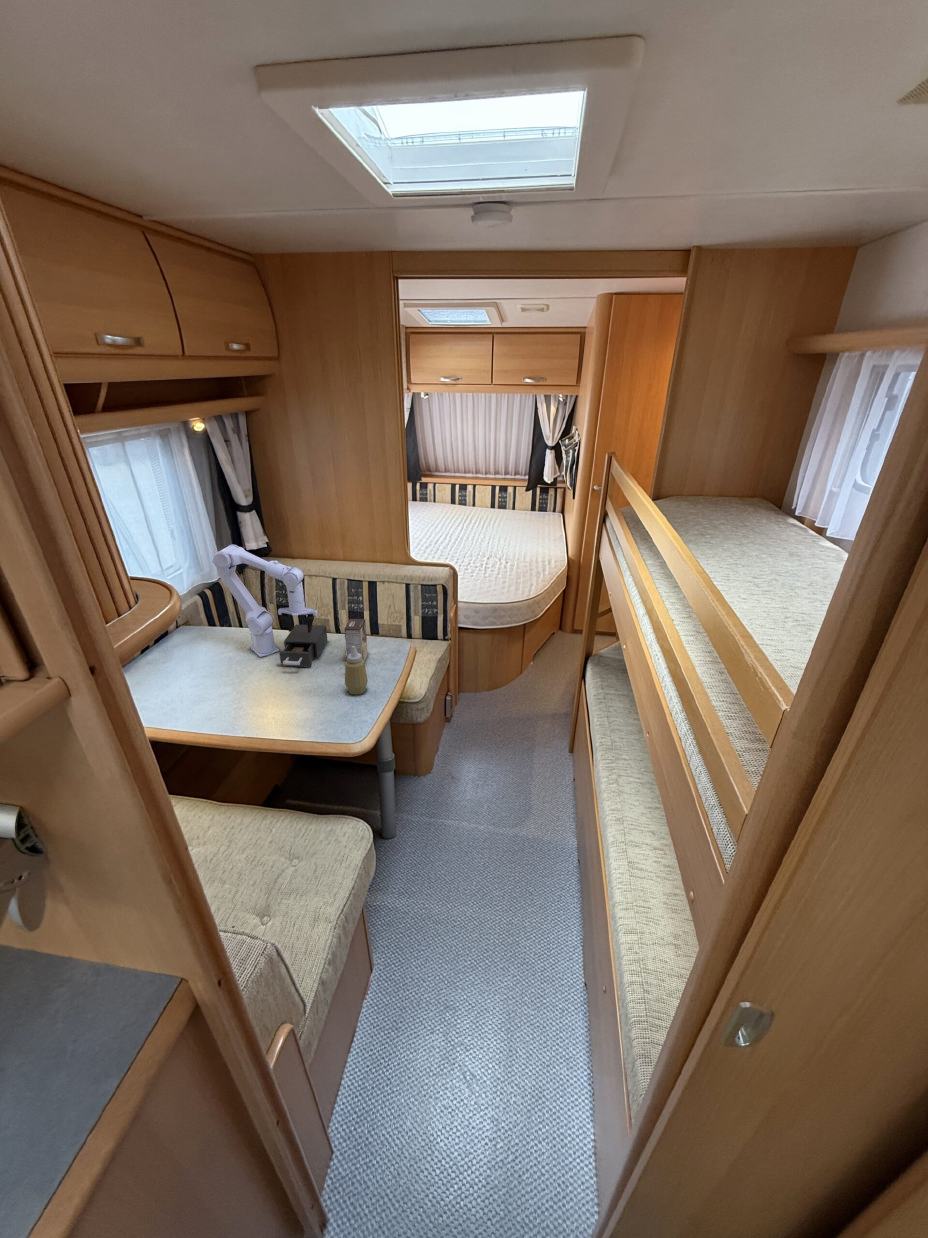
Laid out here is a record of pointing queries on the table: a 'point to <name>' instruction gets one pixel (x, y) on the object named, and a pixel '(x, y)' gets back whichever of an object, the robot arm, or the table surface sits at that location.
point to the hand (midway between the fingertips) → (300, 631)
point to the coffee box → (356, 637)
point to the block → (298, 649)
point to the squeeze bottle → (355, 673)
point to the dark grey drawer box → (309, 637)
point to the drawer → (297, 655)
